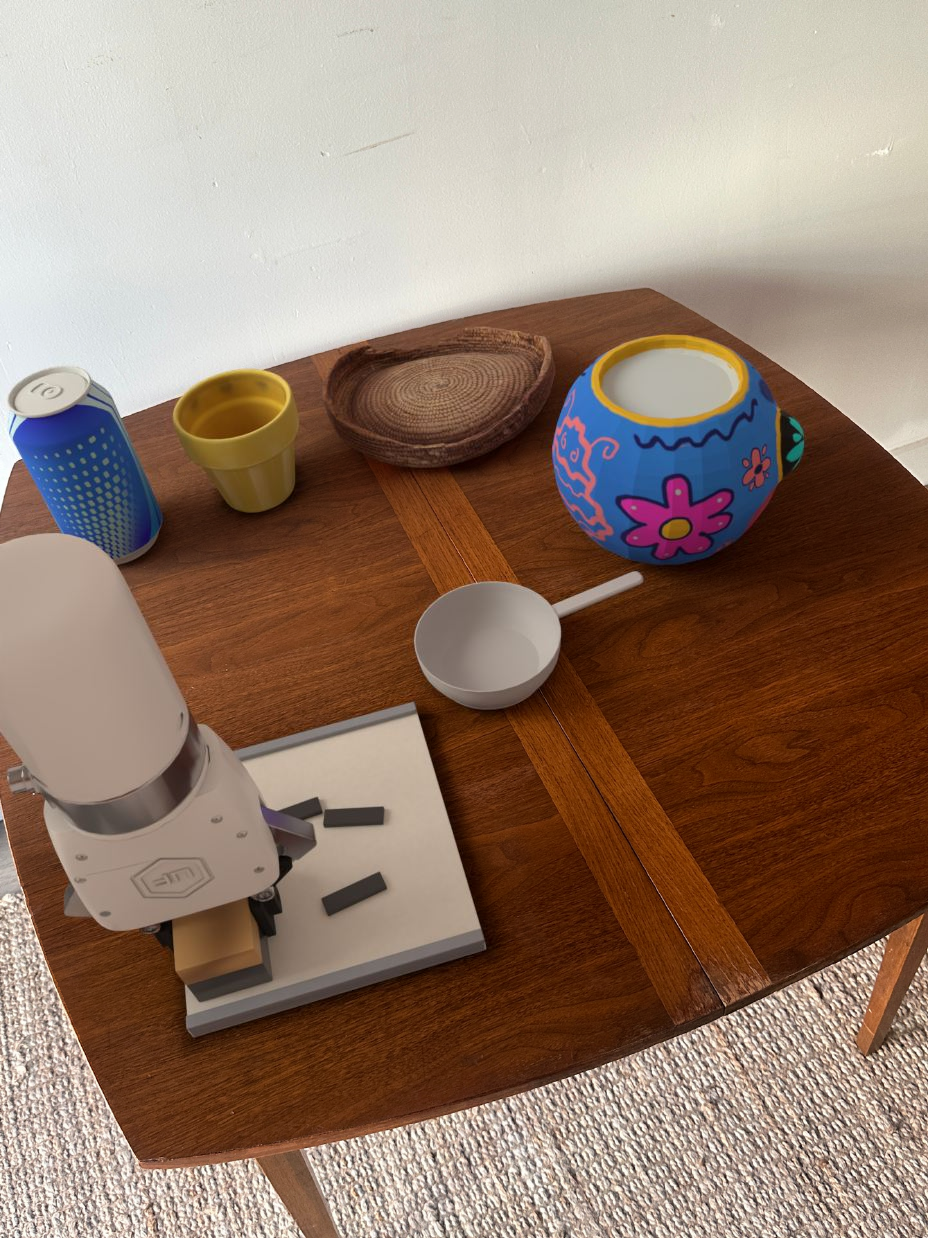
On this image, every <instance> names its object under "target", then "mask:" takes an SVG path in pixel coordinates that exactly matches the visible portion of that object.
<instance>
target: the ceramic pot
mask: <svg viewBox="0 0 928 1238" xmlns="http://www.w3.org/2000/svg"><path fill="white" fill-rule="evenodd" d="M805 441H806V440H805V436H804V431H803V427H802V426H801V424H800V422H799V421H798V419H796V418H795V417H794V416H793V415H791V414H790V413H788V412H786V411H784V410H782V408H780V407H779V406H778V404H777V401H776V400H775V398H774V395H773V393H772V391H771V389H770V387H769V385H768V384H767V382H766V381H765V379H764V378H763V376H762V375H761V373H760V371H758V370H757V368H756V367H755V366H754V365H753V364H752V363H751V362H749V361H748V360H747V359H746V358H745V357H744V356H742V355H740V354H739V353H738V352H736V351H735V350H734V349H732V348H730V347H728V346H726V345H723V344H721V343H719V342H717V341H714V340H711V339H708V338H703V337H699V336H694V335H689V334H658V335H657V334H656V335H652V336H651V335H650V336H644V337H643V336H642V337H639V338H635V339H632V340H629V341H626V342H623V343H621V344H619V345H617V346H615V347H613V348H612V349H610V350H608V351H606V352H605V353H603V354H601V355H600V356H598V357H596V359H595V360H594V361H593V362H592V363H591V364H590V365H589V366H588V367H587V368H585V370H584V371H583V372H581V374H580V375H579V376H578V377H577V379H576V380H575V381H574V383H573V384H572V386H571V387H570V389H569V391H568V393H567V396H566V398H565V400H564V403H563V406H562V408H561V412H560V414H559V417H558V420H557V422H556V427H555V431H554V435H553V441H552V449H551V457H552V464H553V471H554V477H555V482H556V485H557V489H558V492H559V495H560V497H561V500H562V502H563V503H564V505H565V507H566V509H567V511H568V512H569V514H570V516H571V517H572V518H573V520H574V521H575V523H577V525H578V526H579V527H580V528H581V530H582V531H583V532H584V533H585V534H586V535H587V537H589V538H590V539H591V540H592V541H594V542H595V543H596V544H598V546H600V547H601V548H602V549H604V550H606V551H608V552H611V553H613V554H615V555H617V556H620V557H622V558H624V559H627V560H629V561H633V562H639V563H644V564H649V565H654V566H666V565H668V566H669V565H683V564H686V563H691V562H695V561H699V560H703V559H708V558H709V557H711V556H713V555H714V554H716V553H718V552H719V551H722V550H723V549H724V548H727V547H728V546H730V545H732V544H734V543H735V542H736V541H738V540H739V539H740V538H741V537H742V536H743V535H745V533H746V532H747V531H748V530H749V529H750V528H751V527H752V526H753V525H754V523H755V522H756V520H757V519H758V518H759V517H760V515H762V513H763V511H764V510H765V509H766V508H767V506H768V505H769V503H770V501H771V499H772V497H773V495H774V492H775V491H776V488H777V487H778V485H779V484H780V482H781V481H782V480H783V479H784V478H785V477H787V476H789V474H790V473H792V472H793V470H795V468H796V467H797V466H798V464H799V463H800V462H801V459H802V457H803V454H804V449H805V443H806V442H805Z"/></svg>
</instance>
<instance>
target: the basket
mask: <svg viewBox="0 0 928 1238" xmlns="http://www.w3.org/2000/svg"><path fill="white" fill-rule="evenodd" d="M555 375H556V367H555V361H554V355H553V351H552V347H551V343H550V341H549V340H548V339H547V338H546V336H545V335H539V334H535V335H533V336H532V334H531V333H526V332H524V331H521V330H509V329H505V328H498V327H489V326H472V327H463V330H462V332H456V334H455V335H454V337H448V338H447V337H445V338H440V339H439V340H438V343H427V344H422V345H418V346H415V347H406V348H405V347H404V348H398V347H397V348H394V347H390V348H386V349H376V348H373V347H372V345H362V346H357V347H354V348H352V349H349V350H348V349H347V350H345V351H344V352H342V353H341V354H339V355H338V356H337V358H335V359H333V360H332V362H331V364H330V365H329V367H328V368H327V370H326V371H325V373H324V376H323V381H322V394H321V400H322V404H323V407H324V410H325V412H326V416H327V418H328V420H329V422H330V424H331V426H332V428H333V430H334V431H335V433H336V435H337V436H338V438H339V439H341V440H342V441H343V442H344V443H346V445H348V446H349V447H351V448H352V449H354V450H355V451H357V452H359V453H361V454H362V455H364V456H365V457H368V458H370V459H372V460H375V461H377V462H380V463H384V464H388V465H392V466H396V467H403V468H414V469H415V468H417V469H419V468H424V469H425V468H426V469H427V468H443V467H447V466H452V465H456V464H460V463H464V462H466V461H469V460H472V459H474V458H477V457H480V456H483V455H485V454H488V453H489V452H491V451H493V450H496V449H497V448H499V447H500V446H502V445H503V444H505V443H507V442H509V441H511V440H513V439H514V438H515V437H517V436H518V435H519V434H520V433H521V432H523V431H524V430H525V429H526V428H527V427H528V426H529V425H530V424H531V423H532V422H533V421H534V420H535V419H536V417H537V416H538V415H539V414H540V413H541V411H542V410H543V407H544V406H545V403H546V402H547V400H548V398H549V396H550V394H551V392H552V387H553V383H554V378H555Z"/></svg>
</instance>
